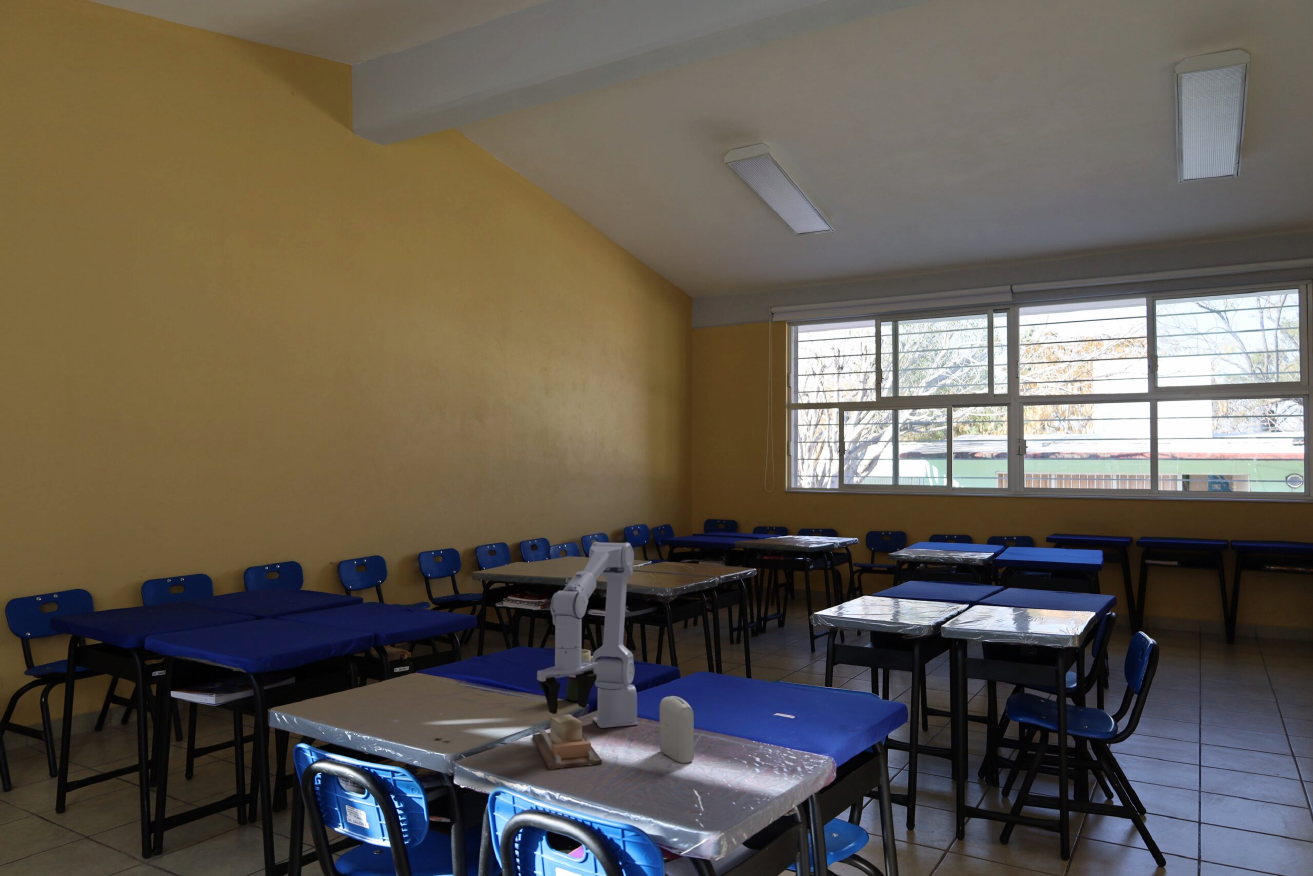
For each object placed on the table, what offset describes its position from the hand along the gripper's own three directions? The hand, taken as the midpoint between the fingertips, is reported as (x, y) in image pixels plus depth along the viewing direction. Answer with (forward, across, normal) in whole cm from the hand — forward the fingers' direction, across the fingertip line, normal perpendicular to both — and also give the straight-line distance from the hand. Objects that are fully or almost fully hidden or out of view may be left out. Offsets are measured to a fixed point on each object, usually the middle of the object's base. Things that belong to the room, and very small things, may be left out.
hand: (567, 709), depth 174 cm
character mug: (+10, -27, -36) cm, 46 cm away
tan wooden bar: (+9, +2, +4) cm, 10 cm away
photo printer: (+10, -17, +16) cm, 26 cm away
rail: (+9, -1, -2) cm, 10 cm away
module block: (+8, -1, -2) cm, 9 cm away
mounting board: (+9, -1, -2) cm, 10 cm away
